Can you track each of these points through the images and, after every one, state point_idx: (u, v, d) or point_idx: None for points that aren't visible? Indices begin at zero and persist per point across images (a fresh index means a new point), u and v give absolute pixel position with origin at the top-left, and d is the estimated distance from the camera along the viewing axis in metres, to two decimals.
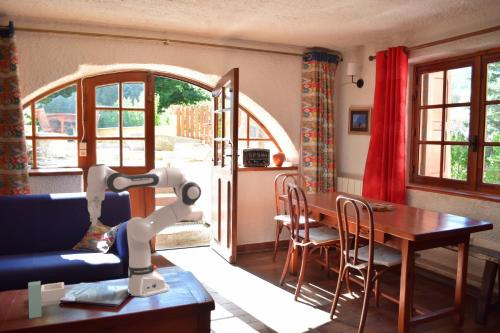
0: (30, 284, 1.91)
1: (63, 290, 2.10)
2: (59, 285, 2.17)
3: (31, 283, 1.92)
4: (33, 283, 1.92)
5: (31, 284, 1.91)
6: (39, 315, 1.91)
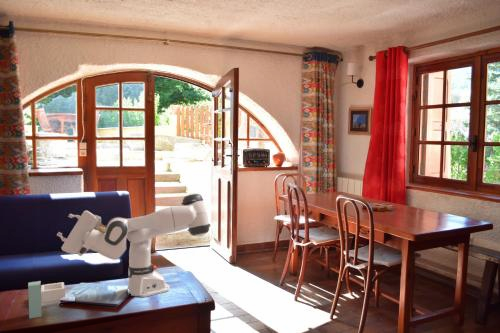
0: (30, 284, 1.91)
1: (63, 290, 2.10)
2: (59, 285, 2.17)
3: (31, 283, 1.92)
4: (33, 283, 1.92)
5: (31, 284, 1.91)
6: (39, 315, 1.91)
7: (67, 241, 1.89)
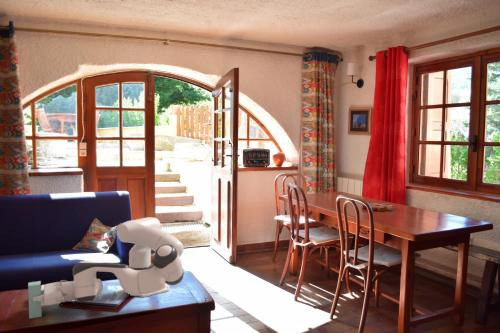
0: (30, 284, 1.91)
1: None
2: None
3: (31, 283, 1.92)
4: (33, 283, 1.92)
5: (31, 284, 1.91)
6: (39, 315, 1.91)
7: None
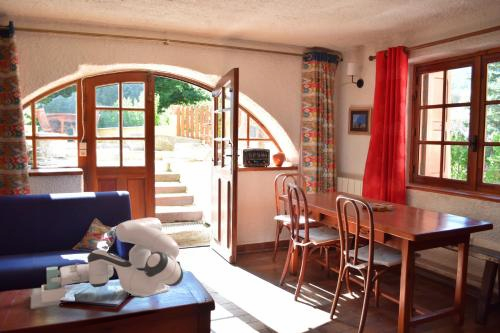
0: (48, 269, 2.10)
1: (63, 290, 2.10)
2: (59, 285, 2.17)
3: (49, 268, 2.11)
4: (51, 268, 2.11)
5: (49, 269, 2.10)
6: None
7: None
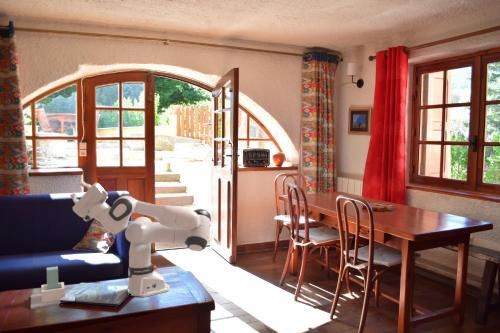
0: (48, 269, 2.10)
1: (63, 290, 2.10)
2: (59, 285, 2.17)
3: (49, 268, 2.11)
4: (51, 268, 2.11)
5: (49, 269, 2.10)
6: None
7: (77, 205, 2.03)
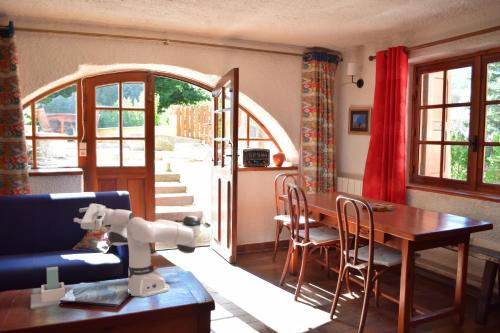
0: (48, 269, 2.10)
1: (63, 290, 2.10)
2: (59, 285, 2.17)
3: (49, 268, 2.11)
4: (51, 268, 2.11)
5: (49, 269, 2.10)
6: None
7: (84, 218, 2.23)
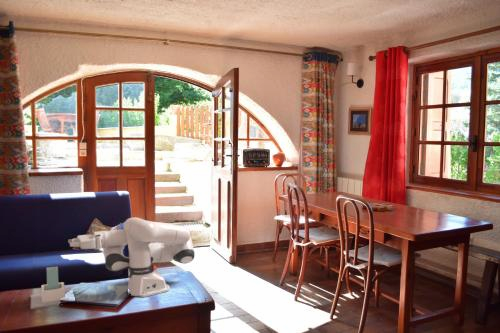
0: (48, 269, 2.10)
1: (63, 290, 2.10)
2: (59, 285, 2.17)
3: (49, 268, 2.11)
4: (51, 268, 2.11)
5: (49, 269, 2.10)
6: None
7: (81, 240, 2.12)
